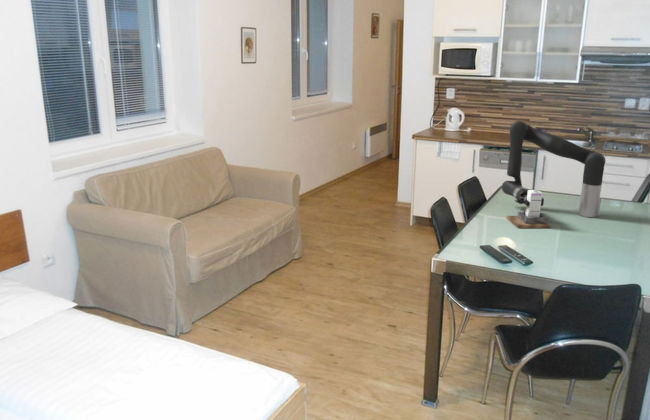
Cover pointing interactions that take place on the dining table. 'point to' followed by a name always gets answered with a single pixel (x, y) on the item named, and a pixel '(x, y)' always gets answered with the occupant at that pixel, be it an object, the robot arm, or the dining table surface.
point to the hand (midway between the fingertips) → (535, 204)
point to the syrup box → (533, 203)
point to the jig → (528, 221)
